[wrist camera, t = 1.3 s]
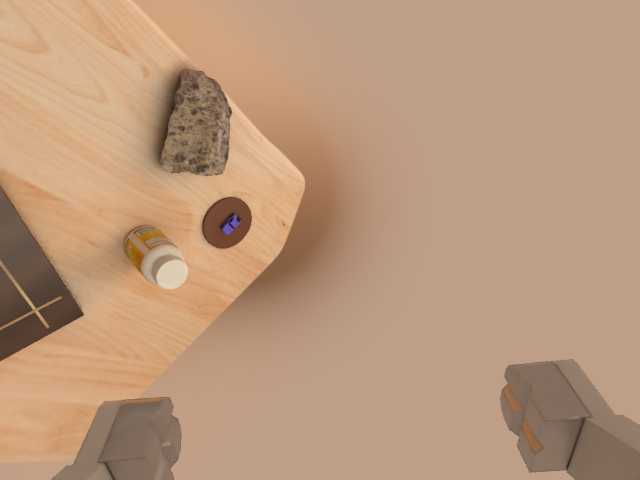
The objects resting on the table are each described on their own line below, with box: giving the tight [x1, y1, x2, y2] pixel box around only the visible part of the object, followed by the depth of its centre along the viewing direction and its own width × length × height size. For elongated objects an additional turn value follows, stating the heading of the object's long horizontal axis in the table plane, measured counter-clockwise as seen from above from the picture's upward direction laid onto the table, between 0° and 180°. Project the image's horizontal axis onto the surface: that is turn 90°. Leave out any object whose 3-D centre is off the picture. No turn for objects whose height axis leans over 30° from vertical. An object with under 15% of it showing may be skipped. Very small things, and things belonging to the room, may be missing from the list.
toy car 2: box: [203, 197, 252, 248], centre depth 68 cm, size 8×8×2 cm
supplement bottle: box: [124, 226, 188, 289], centre depth 58 cm, size 5×5×10 cm
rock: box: [160, 69, 232, 176], centre depth 57 cm, size 13×6×10 cm
